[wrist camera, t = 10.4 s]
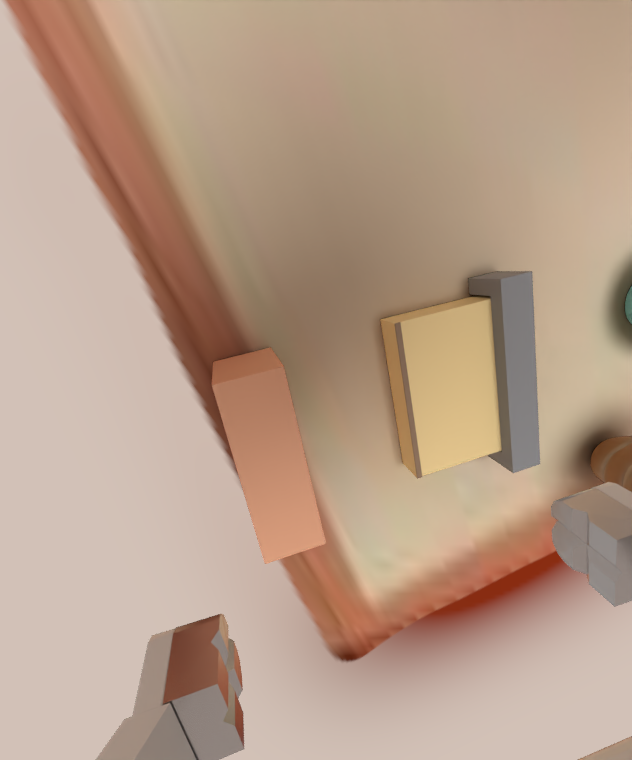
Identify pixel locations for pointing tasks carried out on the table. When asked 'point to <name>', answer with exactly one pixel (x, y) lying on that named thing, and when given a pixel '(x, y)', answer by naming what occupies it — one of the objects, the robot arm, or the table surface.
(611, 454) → the cat ice cream
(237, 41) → the table surface
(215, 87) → the table surface
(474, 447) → the yellow slab with bar
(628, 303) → the cupcake
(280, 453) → the block
